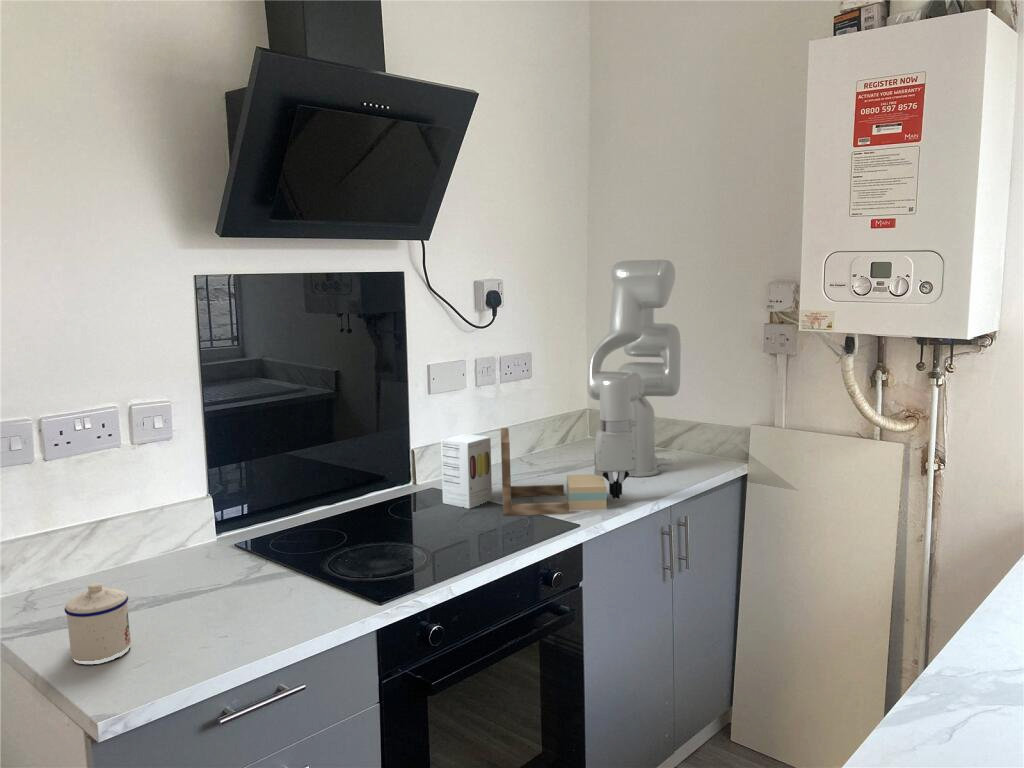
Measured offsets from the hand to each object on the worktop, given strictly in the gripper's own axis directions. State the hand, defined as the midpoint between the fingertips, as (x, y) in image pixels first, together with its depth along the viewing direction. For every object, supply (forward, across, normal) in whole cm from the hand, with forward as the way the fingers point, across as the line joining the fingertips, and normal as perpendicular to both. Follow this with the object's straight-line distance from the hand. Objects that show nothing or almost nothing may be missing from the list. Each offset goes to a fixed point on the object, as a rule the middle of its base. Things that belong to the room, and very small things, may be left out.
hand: (615, 497), depth 209 cm
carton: (+1, +7, 0) cm, 8 cm away
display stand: (+1, +20, 0) cm, 21 cm away
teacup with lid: (+2, +95, +73) cm, 120 cm away
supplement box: (+1, +37, -4) cm, 38 cm away
